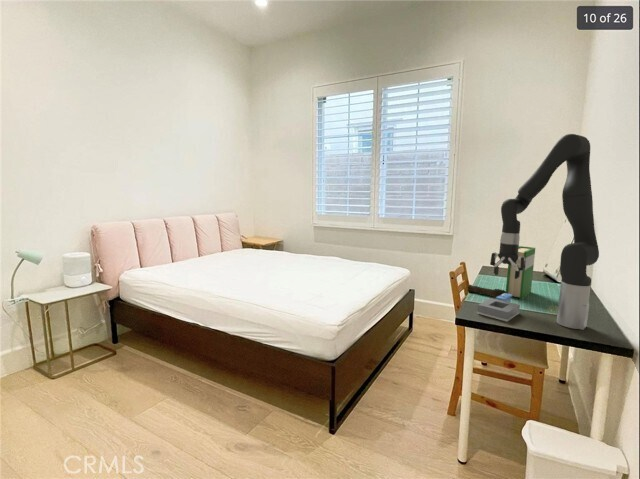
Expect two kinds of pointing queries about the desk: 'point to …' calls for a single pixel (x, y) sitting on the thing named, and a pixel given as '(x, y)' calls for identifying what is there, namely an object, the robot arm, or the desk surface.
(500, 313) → the plate
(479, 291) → the hand tool
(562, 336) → the desk surface
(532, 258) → the hardback book
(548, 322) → the desk surface
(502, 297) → the block
